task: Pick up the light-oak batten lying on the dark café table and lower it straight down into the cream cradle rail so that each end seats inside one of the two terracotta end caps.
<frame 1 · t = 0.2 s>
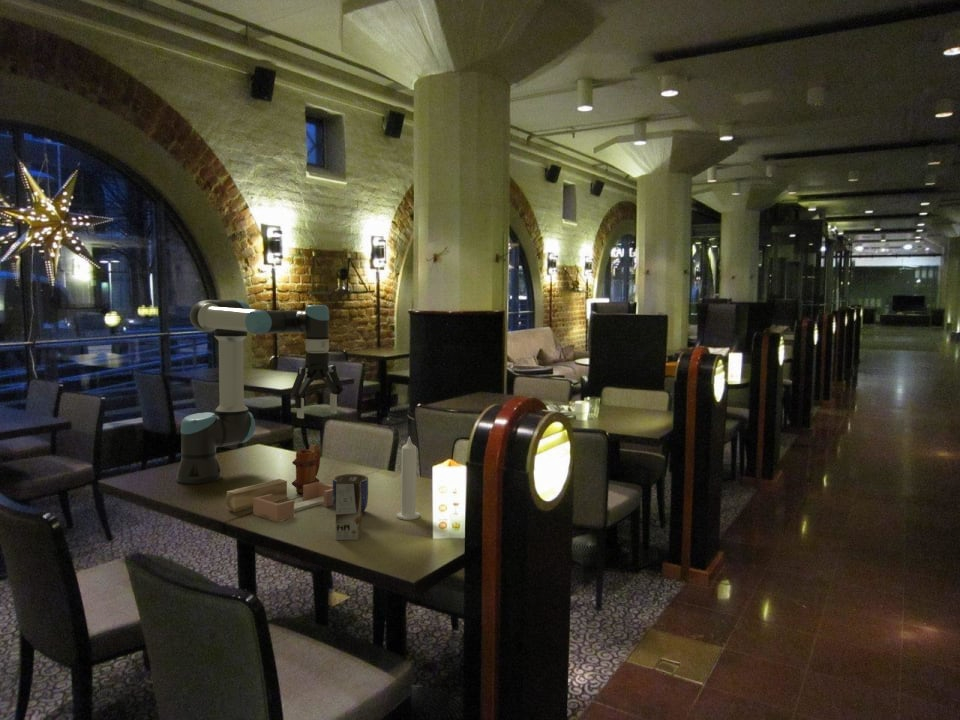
hand: (317, 415, 232), 27 cm above the table, fingers open, 13 cm apart
endcap rail: (298, 508, 220), on the table
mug: (308, 490, 241), on the table
planter: (350, 513, 217), on the table
tan wooden beam: (257, 504, 224), on the table
coffee box: (348, 535, 197), on the table
candle: (408, 517, 215), on the table
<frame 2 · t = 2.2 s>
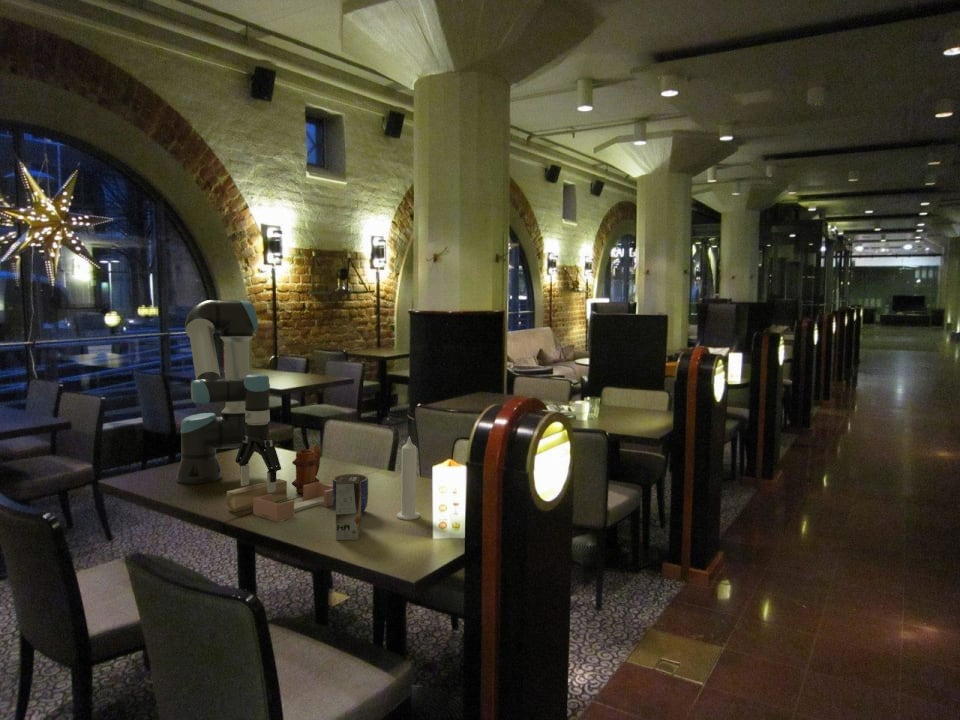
hand: (258, 488, 224), 5 cm above the table, fingers open, 13 cm apart
nothing on the table moved.
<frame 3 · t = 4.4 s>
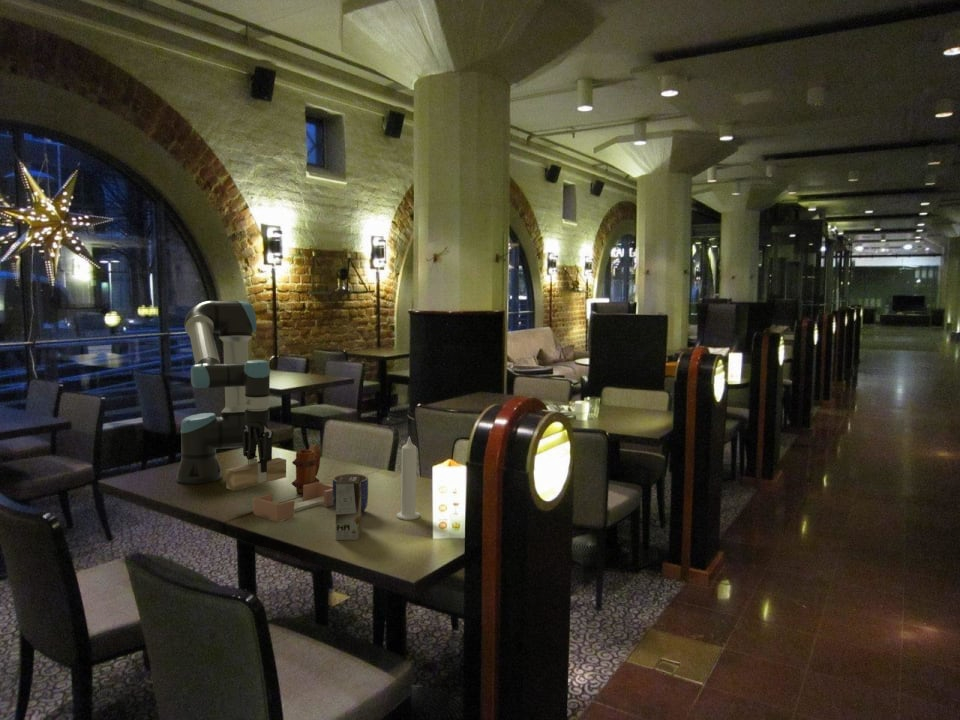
hand: (257, 480, 224), 7 cm above the table, fingers closed on tan wooden beam, 4 cm apart
tan wooden beam: (257, 482, 224), point 7 cm above the table, touching gripper
everything else where it was.
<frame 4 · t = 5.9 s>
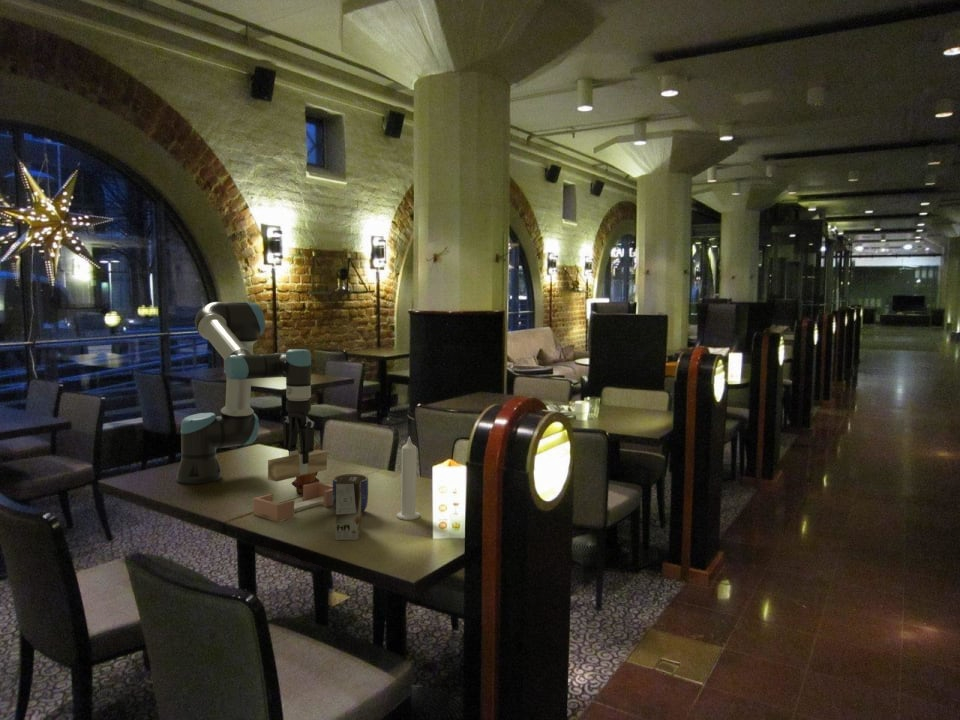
hand: (298, 472, 219), 12 cm above the table, fingers closed on tan wooden beam, 4 cm apart
tan wooden beam: (298, 474, 219), point 11 cm above the table, touching gripper
everything else where it was.
when the fingers open (1 cm above the table, at t = 7.7 s): tan wooden beam stays where it is, resting on endcap rail.
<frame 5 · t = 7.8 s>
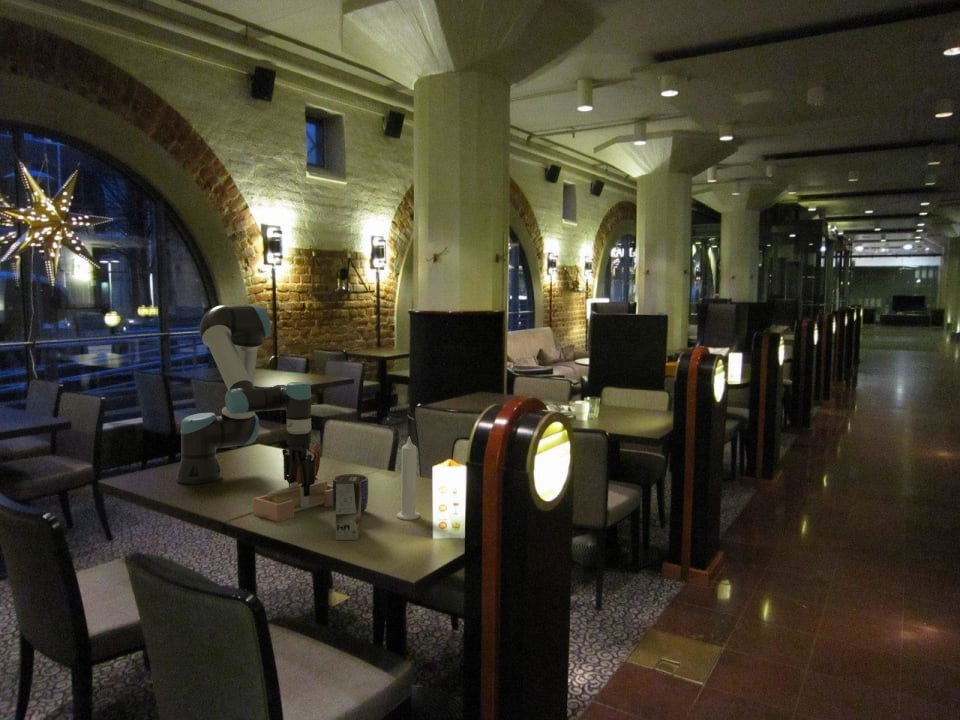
hand: (299, 504, 220), 1 cm above the table, fingers open, 4 cm apart
tan wooden beam: (298, 505, 220), point 1 cm above the table, touching endcap rail, gripper
everything else where it was.
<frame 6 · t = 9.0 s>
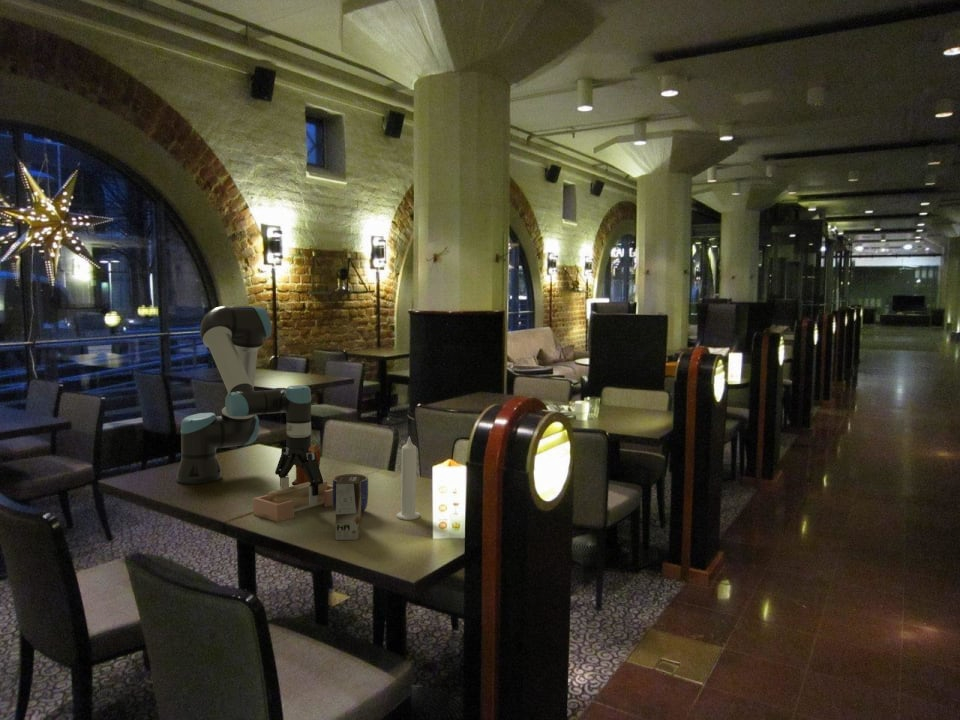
hand: (298, 501, 220), 2 cm above the table, fingers open, 13 cm apart
tan wooden beam: (298, 505, 220), point 1 cm above the table, touching endcap rail
everything else where it was.
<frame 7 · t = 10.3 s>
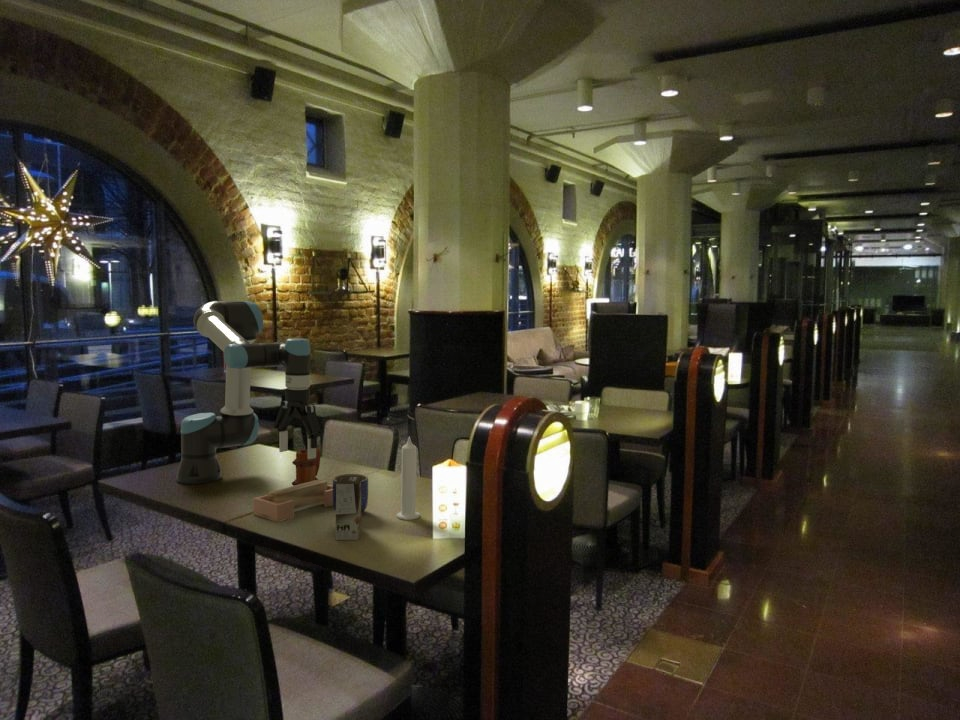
hand: (297, 454, 220), 17 cm above the table, fingers open, 13 cm apart
nothing on the table moved.
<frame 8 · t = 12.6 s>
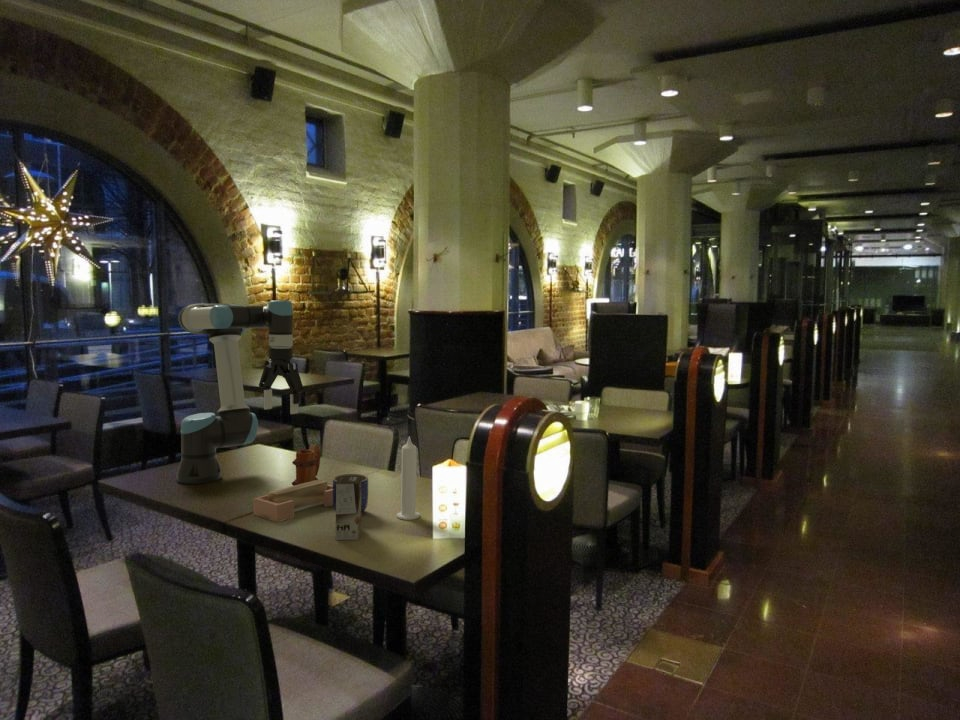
hand: (280, 411, 231), 29 cm above the table, fingers open, 13 cm apart
nothing on the table moved.
at the end: tan wooden beam 0.1 cm off-centre on the endcap rail, point 1.0 cm above the endcap rail's base; tan wooden beam tilted 0°; the gripper is holding nothing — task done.
